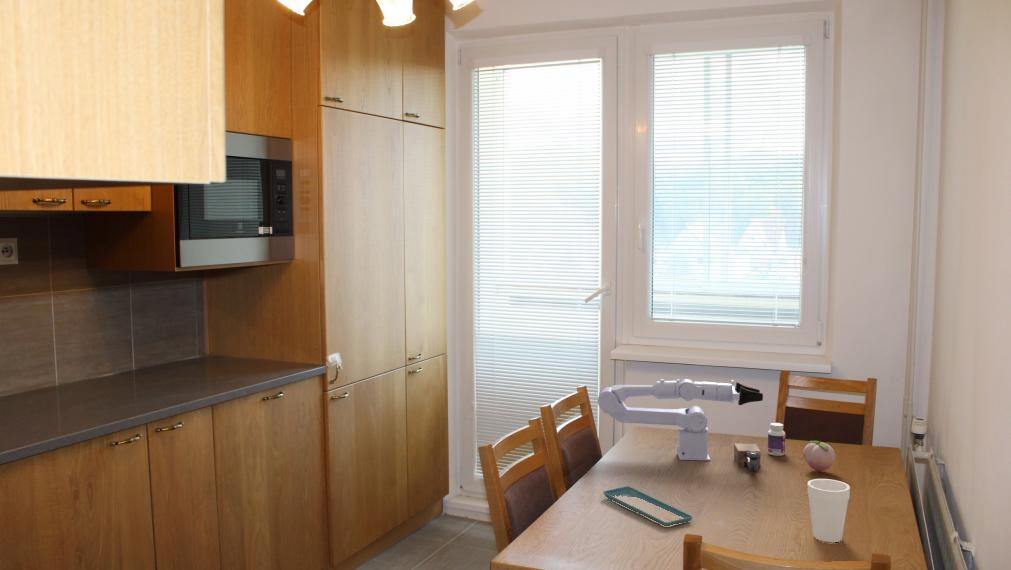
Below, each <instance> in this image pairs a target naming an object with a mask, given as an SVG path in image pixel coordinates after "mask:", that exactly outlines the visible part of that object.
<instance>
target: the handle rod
mask: <svg viewBox="0 0 1011 570" xmlns="http://www.w3.org/2000/svg"><path fill="white" fill-rule="evenodd" d="M761 456H762V454H761V452H760V453H759V452H755V451H749V452H747V454H744V462H745V463H746V465H747V467H748V471H749V472H750V473H754V474H755V473H758V470H759V467H758V458H760V459H761Z"/></svg>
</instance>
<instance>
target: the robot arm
mask: <svg viewBox="0 0 1011 570" xmlns="http://www.w3.org/2000/svg"><path fill="white" fill-rule="evenodd" d="M646 396H647V397H648V396H653V397H655V398H656V399H657V400H675V399H680V398H681V399H683V400H685V401H693V400H701V401H704V400H705V401H713V402H726V403H727V402H728V403H731V404H733V403H734V402H735V401H738V403H737V404H738V406H742V405H745V404H748V403H757V402H762V401H763V399H764V394H763V393H761V391H760V389H757V388H755V387H754V388H753V387H749V386H747V385H743V384H741V383H740V382H738V381H737V382H735V380H733V379H731V381H730V383H727V382H725V383H724V382H714V381H713V382H712V381H695V380H694V381H693V380H691V379H690V378H684V377H683V378H682V379H676V380H665V379H664V378H661V379H660V381H659V380H657V381H655V383H653V384H614V385H612V386H611V385H604V387H602V388H600V391H599V395H598V396H597V404H598V407H599V408H600V409H601V411H602V412H603V413H604V414H607V415H609V416H610V417H611V418H613V419H615V420H616V421H617V422H619V423H622V424H623V423H624V424H641V425H659V426H661V425H662V426H663V425H664V426H677V427H680V429H678V430H677V448H676V449H677V450H676V451H677V452H676V453H677V456H678V459H679V461H711V458H710V457H711V456H710V455H709V451H708V450H709V448H708V447H709V446H708V445H709V428H708V427H707V425H708V418H707V416H706V415H707V414H706V411H705V410H704V408H702V407H701V406H698V405H692V406H689V407H685V408H683V407H682V408H678V409H675V408H674V409H669V408H650V407H649V408H648V407H630V406H629V407H628V406H627V405H626V403H625V402H624V401H625V400H627V399H628V398H634V397H635V398H636V397H646ZM681 428H682V429H681Z"/></svg>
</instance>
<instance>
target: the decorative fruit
mask: <svg viewBox="0 0 1011 570" xmlns="http://www.w3.org/2000/svg"><path fill="white" fill-rule="evenodd" d="M802 456H803V459H804V461H805V462H806V463H807V465H808V466H809V467H810V468H811V469H812V470H814V471H815V472H818V473H821V472H823V471H827V470H829V469H830V468H831V467H832V466H833V464H834V463H835V460H836V453H835V450H834V449H833V448H832V446H831V445H829V444H828V443H826V442H821V440H820V439H818V440H810V441H809V442H808V444H806V446H805V447H804V449H803V451H802Z"/></svg>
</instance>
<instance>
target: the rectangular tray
mask: <svg viewBox="0 0 1011 570" xmlns="http://www.w3.org/2000/svg"><path fill="white" fill-rule="evenodd" d="M602 492H603V495H604V496H605V497H607V498H608V499H610V500H613V501H615V502H617V503H619V504H621V505H623V506H625V507H627V508H629V509H631V510H633V511H635V512H638V513H639V514H642V515H644V516H646V517H648V518H650V519H652V520H654V521H656V522H658V523H660V524H662V525H664V526H670V525H673V524H679V523H684V522H688V521H690V522H691V520H692V519H693V517H694V516H693V515H691V514H689V513H686V512H684V511H682V510H680V509H678V508H676V507H674V506H671V505H670V504H667V503H666V502H663V501H661V500H659V499H657V498H654V497H652V495H651V496H650V495H649V494H646V493H644V492H642V491H639V490H638V489H635V487H631V486H628V485H625V486H622V487H616V488H612V489H608V490H604V491H602ZM615 495H616V496H617V497H618V496H620V495H621V496H622V497H623V496H627V497H637V498H640V499H643V500H645V501H647V502H649V503H652V504H654V505H656V506H659V507H661V508H663V509H665V510H667V511H670V512H672V513H674V514H676V515H678V516H681V517H683V518H684V519H679V520H675V521H671V522H664V521H662V520H660V519H658V518H656V517H654V516H652V515H650V514H648V513H646V512H644V511H642V510H640V509H638V508H636V507H634V506H631V505H629V504H627V503H625V502H623V501H621V500H619V499H617V498H615ZM613 496H614V497H613ZM607 498H606V499H607ZM608 499H607V500H608ZM610 500H609V501H610Z"/></svg>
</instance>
